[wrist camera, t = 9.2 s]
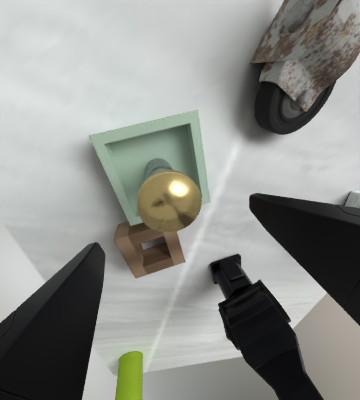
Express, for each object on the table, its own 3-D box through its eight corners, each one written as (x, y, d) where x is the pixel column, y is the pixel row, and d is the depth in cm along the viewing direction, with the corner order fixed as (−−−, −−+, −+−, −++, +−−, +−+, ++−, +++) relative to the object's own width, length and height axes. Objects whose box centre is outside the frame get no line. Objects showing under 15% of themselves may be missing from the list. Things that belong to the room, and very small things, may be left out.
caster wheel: (268, 134, 24) (223, 103, 19) (335, 44, 18) (294, -30, 13) (304, 150, 19) (256, 114, 14) (411, 34, 13) (389, -87, 9)
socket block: (180, 246, 27) (185, 261, 23) (136, 260, 26) (135, 278, 23) (169, 209, 23) (173, 221, 20) (118, 224, 22) (113, 240, 19)
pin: (178, 182, 20) (205, 221, 11) (147, 191, 20) (148, 239, 11) (171, 149, 18) (196, 165, 9) (135, 158, 18) (126, 184, 9)
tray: (202, 193, 23) (210, 202, 20) (132, 214, 22) (130, 225, 19) (189, 112, 18) (197, 109, 15) (97, 134, 17) (88, 135, 14)
